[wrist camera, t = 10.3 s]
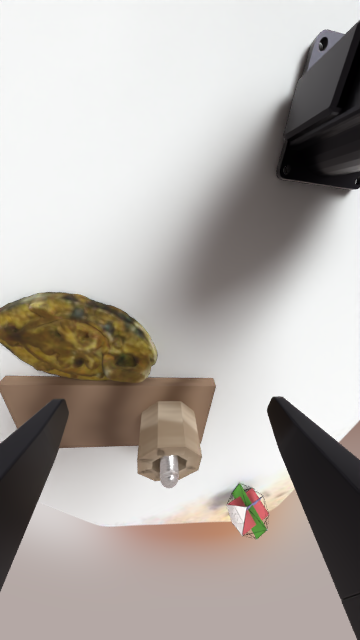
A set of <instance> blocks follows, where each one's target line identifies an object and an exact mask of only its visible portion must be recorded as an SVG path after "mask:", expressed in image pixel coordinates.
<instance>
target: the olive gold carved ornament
mask: <svg viewBox="0 0 360 640" xmlns="http://www.w3.org/2000/svg"><path fill="white" fill-rule="evenodd" d="M0 343H1V344H2V345H4V346H5V347H6V348H7V349H8V350H10V351H11V352H12V353H13V354H14V355H16V356H17V357H18V358H19V359H21V360H22V361H24V362H26V363H28V364H30V365H31V366H33V367H34V368H35V369H36V370H39V371H44V372H46V373H49V374H54V375H58V376H62V377H67V378H73V379H79V380H92V381H106V380H113V381H119V382H129V383H139V382H142V381H144V380H145V379H146V378H147V377H148V375H149V374H150V371H151V366H153V365H154V364H155V363H156V360H157V351H156V348H155V346H154V343H153V342H152V339H151V338H150V336H149V334H148V333H147V331H146V330H145V329H144V328H143V327H142V326H141V325H140V324H139V323H138V322H137V321H136V320H135V319H134V318H132V317H130V316H129V315H128V314H127V313H126V312H124V311H122V310H120V309H118V308H116V307H114V306H111V305H105V304H103V303H99V302H96V301H94V300H90V299H89V298H87V297H85V296H82V295H79V294H69V293H61V292H57V293H56V292H46V293H37V294H35V295H32V296H29V297H24V298H22V299H20V300H17V301H15V302H12V303H8V304H7V305H5V306H3V307H2V308H0Z"/></svg>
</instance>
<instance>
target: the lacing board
mask: <svg viewBox="0 0 360 640" xmlns="http://www.w3.org/2000/svg"><path fill="white" fill-rule="evenodd" d="M215 387H216V385H215V382H214V379H213V378H146V379H145V380H144V381H142V382H139V383H129V382H119V381H113V380H106V381H92V380H79V379H73V378H67V377H54V376H5V377H4V378H3V379H2V380H1V381H0V392H1V394H2V397H3V399H4V401H5V403H6V405H7V407H8V409H9V412H10V414H11V416H12V418H13V420H14V422H15V424H16V427H17V429H18V428H19V427H20V426H22V425H23V424H24V423H25V422H26V421H28V420H29V419H30V418H31V417H32V416H33V415H35V414H36V413H37V412H38V411H39V410H41V409H42V408H43V407H44V406H45V405H46V404H48V403H49V402H50V401H51V400H53V399H65V401H66V404H67V407H68V410H69V416H68V420H67V423H66V426H65V430H64V433H63V436H62V439H61V443H60V446H59V448H75V447H106V446H137V445H139V437H140V426H141V415H142V412H143V411H144V410H146V409H147V408H149V407H150V406H152V405H153V404H155V403H157V402H158V401H181V402H182V403H184V404H185V405H186V406H188V407H189V408H190V409H192V410H193V411H194V413H195V419H196V425H197V431H198V436H199V442H200V443H201V441H202V437H203V433H204V429H205V425H206V422H207V418H208V414H209V410H210V406H211V403H212V399H213V395H214V391H215Z"/></svg>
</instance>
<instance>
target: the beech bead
mask: <svg viewBox="0 0 360 640" xmlns="http://www.w3.org/2000/svg"><path fill="white" fill-rule="evenodd" d="M173 455H177V456H178V470H179V479H178V480H180V479H182V478H184V477H186V476H188V475H189V474H191V473H193V472H195V471H197V470H198V469H199V465H200V462H201V458H202V454H201V448H200V442H199V436H198V431H197V425H196V419H195V413H194V411H193V410H192V409H190V408H189V407H188V406H186V405H185V404H184V403H182V402H181V401H158V402H157V403H155V404H153V405H152V406H150V407H149V408H147V409H146V410H144V411H143V412H142V415H141V426H140V437H139V447H138V458H137V463H138V474H140V475H143V476H145V477H147V478H149V479H152V480H154V481H161V480H160V457H162V456H173Z"/></svg>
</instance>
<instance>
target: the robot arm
mask: <svg viewBox="0 0 360 640" xmlns="http://www.w3.org/2000/svg"><path fill="white" fill-rule="evenodd" d="M319 43H322V45H323V50H322V51H320V50H319ZM284 138H285V142H284V146H283V149H282V153H281V157H280V160H279V164H278V168H277V177H278V178H279V179H281V180H288V181H294V182H301V183H307V184H314V185H320V186H327V187H334V188H340V189H347V190H354V189H358V188H360V20H359V21H358V22H357V23H356V24H355V25H354V26H353V27H352V28H351V29H350V30H349V31H348V32H347V33H346V34H342V33H339V32H335V31H331V30H323V31H322V32H320V33H319V35H318V36H317V37H316V38H315V39H314V41H313V42H312V44H311V47H310V50H309V54H308V57H307V61H306V65H305V68H304V72H303V76H302V77H301V78H300V79H299V80H298V83H297V87H296V90H295V94H294V98H293V102H292V105H291V109H290V113H289V117H288V120H287V124H286V128H285V132H284ZM285 166H286V167H287V172H286V174H284V172H283V169H284V167H285ZM356 178H357V182H356V184H355V180H356ZM267 413H268V416H269V420H270V423H271V426H272V429H273V433H274V436H275V439H276V442H277V445H278V448H279V451H280V453H281V456H282V458H283V461H284V463H285V466H286V468H287V470H288V473H289V475H290V478H291V480H292V483H293V485H294V487H295V490H296V492H297V495H298V497H299V499H300V502H301V504H302V507H303V509H304V511H305V514H306V516H307V519H308V521H309V524H310V526H311V528H312V531H313V533H314V536H315V538H316V541H317V543H318V545H319V548H320V550H321V552H322V555H323V558H324V560H325V562H326V565H327V567H328V569H329V572H330V574H331V577H332V579H333V582H334V584H335V587H336V589H337V591H338V594H339V596H340V598H341V599H342V600H341V601H342V604H343V606H344V609H345V611H346V614H347V616H348V618H349V621H350V623H351V626H352V628H353V631H354V633H355V635H356V638H357V640H360V460H359V459H358V458H357V457H355V456H354V455H353V454H352V453H351V452H349V451H348V450H347V449H345V447H343V446H342V445H341V444H340V443H338V442H337V441H336V440H335V439H334V438H332V437H331V436H330V435H329V434H327V433H326V432H325V431H324V430H323V429H321V428H320V427H319V426H318V425H316V424H315V423H314V422H313V421H312V420H310V419H309V418H308V417H307V416H305V415H304V414H303V413H302V412H301V411H299V410H298V409H297V408H296V407H294V406H293V405H292V404H291V403H290V402H288V401H287V400H286V399H285V398H283V397H280V396H278V397H272V399H271V401H270V403H269V405H268V408H267ZM68 416H69V410H68V407H67V404H66V401H65V399H53V400H51V401H50V402H49V403H48V404H46V405H45V406H44V407H43V408H42V409H41V410H39V411H38V412H37V413H36V414H35V415H33V416H32V417H31V418H30V419H29V420H28V421H26V422H25V423H24V424H23V425H22V426H20V427H19V428H18V429H17V430H16V431H15V432H13V433H12V434H11V435H10V436H9V437H8V438H6V439H5V440H4V441H3V442H2V443H0V591H1V589H2V586H3V584H4V581H5V579H6V576H7V574H8V572H9V569H10V567H11V564H12V562H13V560H14V557H15V555H16V553H17V550H18V548H19V545H20V543H21V540H22V538H23V536H24V533H25V531H26V528H27V526H28V524H29V521H30V519H31V516H32V514H33V511H34V509H35V507H36V504H37V502H38V500H39V497H40V495H41V492H42V490H43V487H44V485H45V483H46V480H47V478H48V475H49V473H50V471H51V468H52V466H53V463H54V461H55V458H56V455H57V452H58V449H59V446H60V443H61V439H62V436H63V433H64V430H65V426H66V423H67V420H68Z"/></svg>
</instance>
